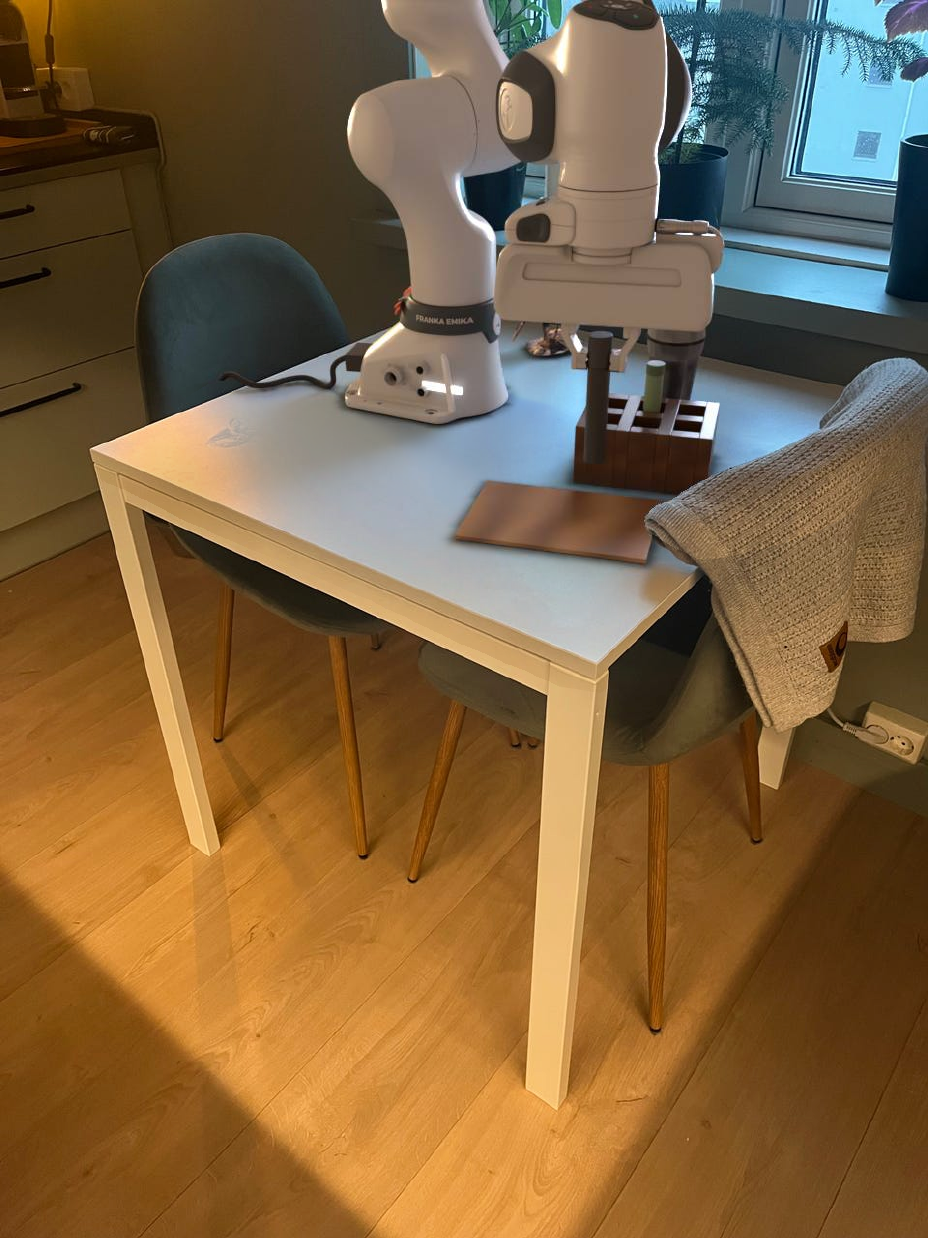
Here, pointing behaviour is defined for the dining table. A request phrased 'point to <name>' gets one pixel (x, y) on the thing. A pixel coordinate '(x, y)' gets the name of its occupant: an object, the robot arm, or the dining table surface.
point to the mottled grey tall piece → (546, 341)
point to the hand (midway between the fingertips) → (598, 369)
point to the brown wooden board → (560, 521)
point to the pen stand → (651, 445)
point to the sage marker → (653, 386)
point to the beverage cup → (676, 359)
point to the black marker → (597, 396)
